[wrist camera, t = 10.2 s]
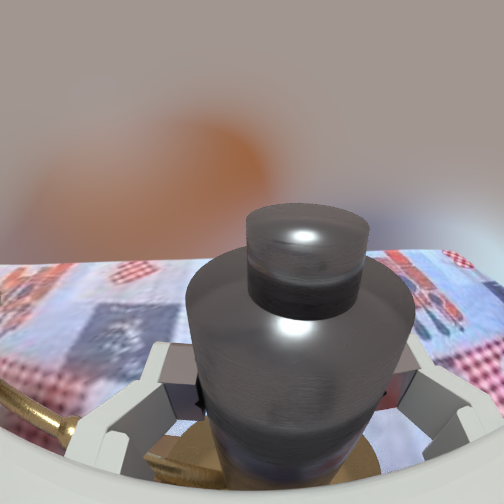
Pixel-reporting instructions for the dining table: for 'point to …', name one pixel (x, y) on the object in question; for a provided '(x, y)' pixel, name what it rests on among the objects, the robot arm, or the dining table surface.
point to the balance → (175, 447)
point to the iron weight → (295, 344)
